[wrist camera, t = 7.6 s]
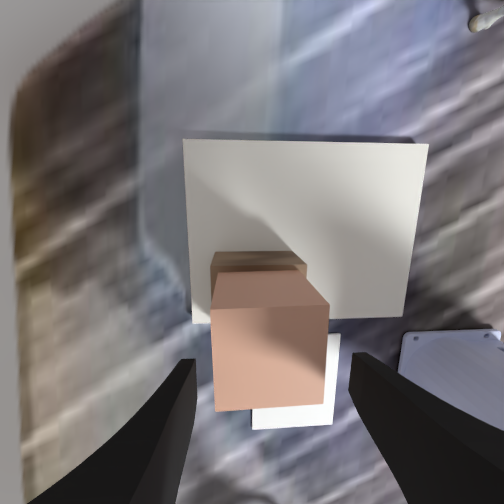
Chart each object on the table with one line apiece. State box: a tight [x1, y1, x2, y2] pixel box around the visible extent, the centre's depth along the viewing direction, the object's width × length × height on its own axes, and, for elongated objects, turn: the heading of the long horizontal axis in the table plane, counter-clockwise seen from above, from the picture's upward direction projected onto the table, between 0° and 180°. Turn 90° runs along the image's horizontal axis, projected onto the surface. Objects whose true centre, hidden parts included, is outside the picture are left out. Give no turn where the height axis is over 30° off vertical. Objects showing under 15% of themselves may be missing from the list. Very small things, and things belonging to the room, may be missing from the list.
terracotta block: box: [210, 270, 330, 412], centre depth 13 cm, size 5×5×5 cm
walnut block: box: [210, 251, 307, 303], centre depth 17 cm, size 6×6×4 cm
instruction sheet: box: [252, 333, 341, 430], centre depth 22 cm, size 8×10×1 cm
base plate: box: [183, 139, 429, 324], centre depth 19 cm, size 18×14×1 cm
